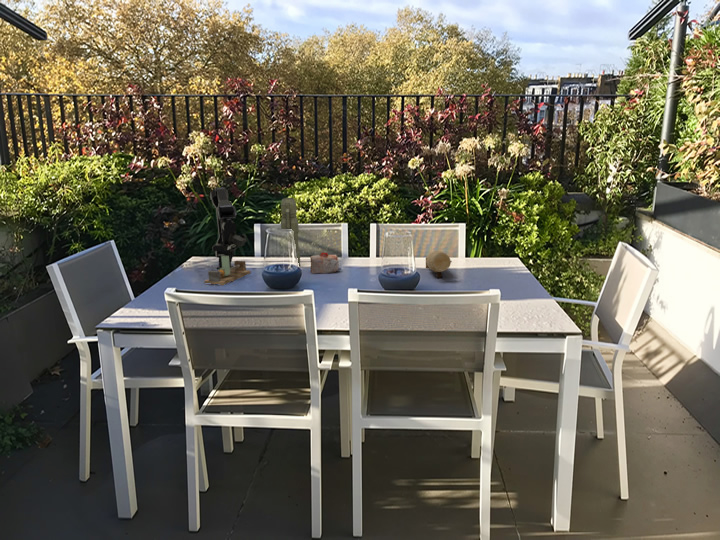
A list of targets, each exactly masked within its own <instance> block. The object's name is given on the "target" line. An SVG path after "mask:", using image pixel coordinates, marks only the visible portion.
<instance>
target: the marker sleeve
mask: <svg viewBox="0 0 720 540" xmlns="http://www.w3.org/2000/svg"><path fill="white" fill-rule="evenodd" d="M221 259H222V268H220V269H218V270H221V269H222V270H224V272H225V275H224V276H228V275H230V264H229V256H224V255H223V256H221Z"/></svg>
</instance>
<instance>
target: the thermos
mask: <svg viewBox="0 0 720 540" xmlns="http://www.w3.org/2000/svg"><path fill="white" fill-rule="evenodd" d="M280 211H281V213H280V214H281V220H280V230H281V229H292V230H293V231H294V240H295V244H296V251H297V258H298V263H299V266H300V267H301V254H300V253H299V252H300V249H299V229H300V228H299V221H298V217H297V203H296V200H295V198H293V197H284V198H282V200H281V202H280Z"/></svg>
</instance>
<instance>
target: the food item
mask: <svg viewBox="0 0 720 540" xmlns="http://www.w3.org/2000/svg"><path fill="white" fill-rule="evenodd" d="M339 262H340V260H339V257H338V256H337V254H329V253H328V252H325V251H324V252H320V255H319V254H317V255H316V254H315V255H311V256H310V273H311V274H313V275H314V274H328V273H329V274H331V273H336V272H337V271H338V270H339V268H340V267H339V266H340V263H339Z"/></svg>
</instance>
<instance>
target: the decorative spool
mask: <svg viewBox="0 0 720 540" xmlns="http://www.w3.org/2000/svg"><path fill="white" fill-rule="evenodd" d="M452 262H453V261H452V260H451V258H450V256H449V255H448V254H447V253H446V252H444V251H442V250H441V251H440V250H434V251H431V252H430V253H429V254H428V255H427V256H426V257H425V268H426V269H430V270H431V271H432V272H433V273H436V278H443V277H442V276H443V272H444V271H446V270H448V269H449V268H450V267H451V264H452Z"/></svg>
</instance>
